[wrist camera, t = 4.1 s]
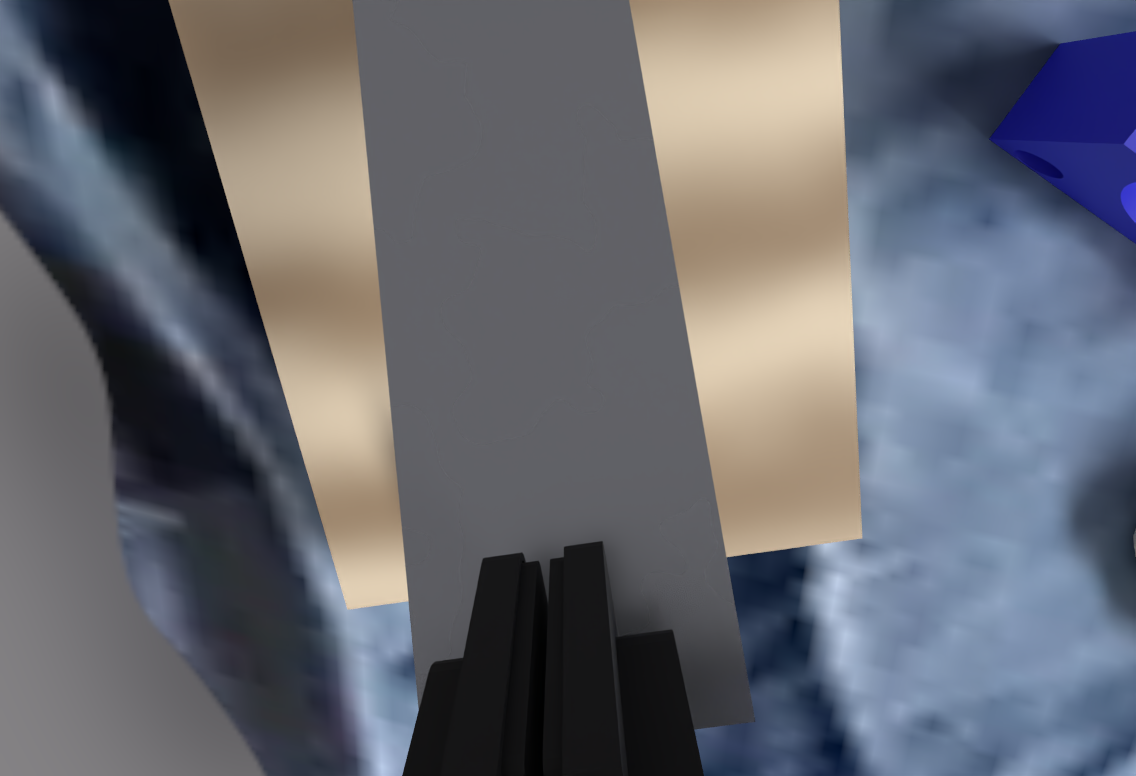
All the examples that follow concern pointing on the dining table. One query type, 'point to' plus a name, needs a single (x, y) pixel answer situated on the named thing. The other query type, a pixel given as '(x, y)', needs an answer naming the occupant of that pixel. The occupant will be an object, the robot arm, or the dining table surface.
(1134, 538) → the bread roll
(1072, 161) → the cable clip
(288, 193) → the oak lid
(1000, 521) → the dining table surface
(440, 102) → the grey flat bar
